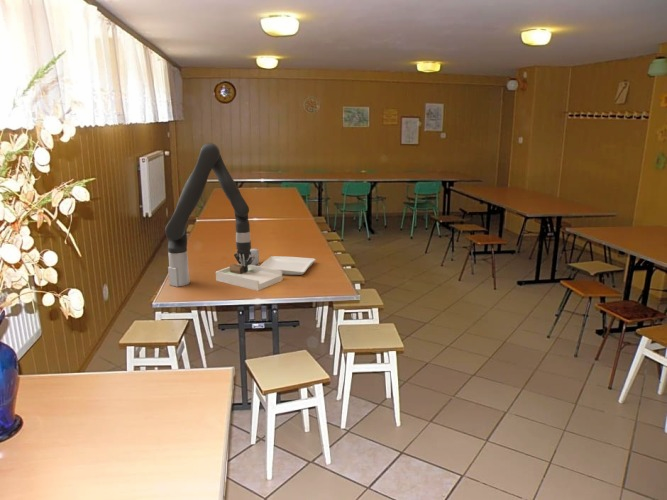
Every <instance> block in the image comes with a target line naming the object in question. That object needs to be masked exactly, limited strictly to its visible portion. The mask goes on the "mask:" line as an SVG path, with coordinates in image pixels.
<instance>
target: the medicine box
mask: <svg viewBox="0 0 667 500" xmlns="http://www.w3.org/2000/svg"><path fill="white" fill-rule="evenodd" d="M250 252H251V255H252V256H254V257H255V258H254V260H253V261H252V263H251V264H250V265H255V266H258V265H259V264H260V255H259V254H260V253H259V252H260V251H259V249H257V248H251V249H250Z"/></svg>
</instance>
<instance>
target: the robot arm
mask: <svg viewBox="0 0 667 500" xmlns="http://www.w3.org/2000/svg"><path fill="white" fill-rule="evenodd" d="M212 170H213V173H214V174H215V176H216V178H217V180H218V181H217V182H218V183H219V185H220V187H221V190H223V193H224V195H225V196H226V198H227V199H228V200H229V202H230V204H231V206H232V208H233V210H234V218H235V243H236V244H235V245H236V246H235V248H236V250H237V251H236V253H234V254H233V256H234V258H235V259H236V261H237V264H241V265H242V271H243V273H246V272H247V271H248V265H250V264H251V263H252V261H253V260H254V258H255V257H254V256H252V255H251V252H250V249H252V242H251V241H252V240H251V238H252V236H251V231H250V230H251V229H250V227H251V226H250V221H249V213H250V206H249V205H248V203H247V202H246V200H245V199H244V197H243V195H242V192H241V190H240V189H239V188H238V185H237V184H236V182H235V180H234V179H233V177H232V175H231V173H230V172H229V170H228V169H227V167H226V165H225V162H224V160H223V157H222V155H221V152H220V149H219V146H217V145H216V144H215V143H213V142H207V143H204V144H203V146H201V149H200V151H199V155H198V158H197V161H196V164H195V166H194V168H193V170H192V172H190V173H191V174H190V175H189V177H188V178H187V180H186V182H185V183H184V185H183V188H182V191H181V193H180V196H179V198H178V200H177V204H176V207H175V210H174V212H173V214H172V215H171V218H170V220H169V221H168V222H167V224H166V226H165V229H164V232H165V236H166V238H167V239H168V243H167V252H168V253H167V254H168V265H169V266H168V267H167V270H168V274H167V275H168V282H169V285H170V286H172V287H176V288H177V287H184V286H188V285H189V284H190V283H191V282H190V281H191V280H190V271H189V259H188V235H187V234H188V233H187V232H188V231H187V224H188V223H187V222H188V221H189V218H190V216H191V215H192V213H193V212H194V210H195V208H196V207H197V205H198V203H199V202H200V199H201V198H202V196H203V193H204V190H205V188H206V185H207V183H208V182H207V181H208V178H209V175H210V173H211V171H212Z"/></svg>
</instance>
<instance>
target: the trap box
mask: <svg viewBox="0 0 667 500" xmlns="http://www.w3.org/2000/svg"><path fill="white" fill-rule="evenodd" d="M238 264H239V263H238ZM239 265H241V264H239ZM283 279H284V278H283V274H282V271H279V270H274V269H269V268H264V267H260V265H248V271H247V272H246V273H242V274H236V273H231V272H230V266H228V267H225V268H222V269H219V270H216V271H215V281H216V282H220V283H225V284H228V285H233V286H236V287H241V288H245V289H250V290H253V291H257V292H259V291H261V290H264V289H265V288H268V287H270V286H273V285H275V284H277V283H280V282H282V281H283Z"/></svg>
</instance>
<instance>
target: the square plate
mask: <svg viewBox="0 0 667 500" xmlns="http://www.w3.org/2000/svg"><path fill="white" fill-rule="evenodd" d="M316 260H317V259H316V258H311V257H299V256H298V257H297V256H284V255H283V256H282V255H281V256H280V255H279V256H274V255H271V256H270V257H269V258H267V259H266V260H264V261H263V262H262V263H261V264H260V265H259V266H260V267H264V268H269V269H274V270H279V271H282V275H286V276H301V275H303V274H305V273H306V271H307V270H308V269H309V268H310V267H311V266H312V265H313V264H314V263H315V262H316Z"/></svg>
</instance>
